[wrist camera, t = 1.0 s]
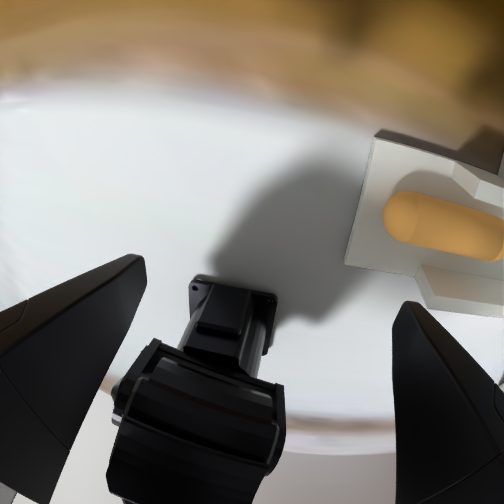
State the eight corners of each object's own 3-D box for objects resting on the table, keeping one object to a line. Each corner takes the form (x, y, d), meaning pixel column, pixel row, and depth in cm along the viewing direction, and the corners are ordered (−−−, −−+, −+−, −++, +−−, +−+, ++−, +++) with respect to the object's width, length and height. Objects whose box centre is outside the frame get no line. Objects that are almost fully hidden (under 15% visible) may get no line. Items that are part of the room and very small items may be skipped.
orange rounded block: (488, 250, 16) (506, 273, 14) (373, 223, 17) (382, 247, 15) (503, 213, 15) (524, 233, 12) (385, 179, 16) (397, 197, 13)
